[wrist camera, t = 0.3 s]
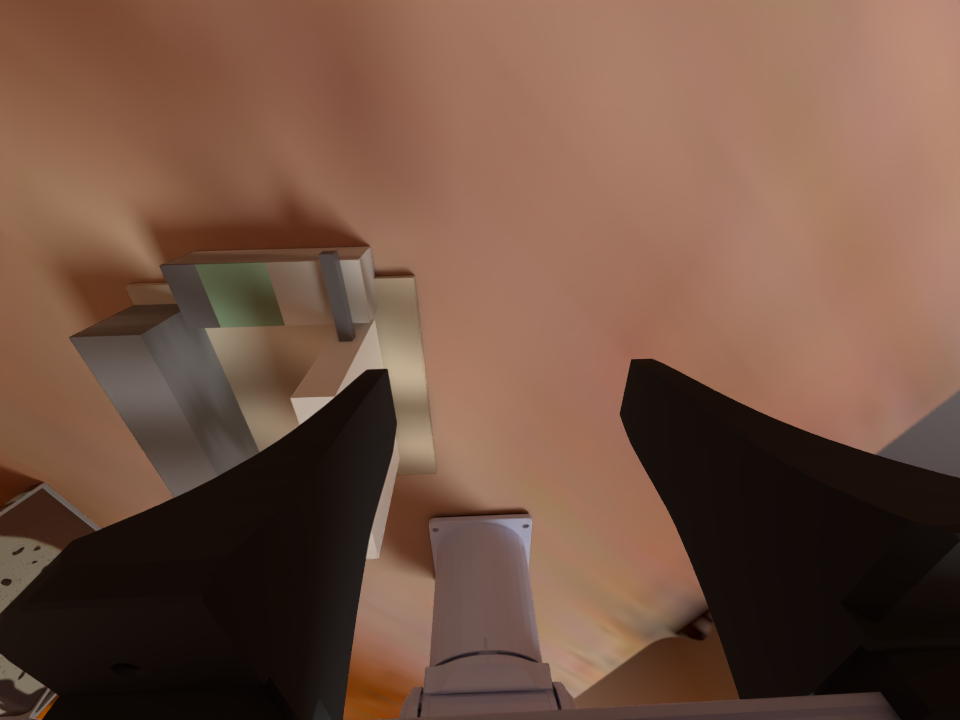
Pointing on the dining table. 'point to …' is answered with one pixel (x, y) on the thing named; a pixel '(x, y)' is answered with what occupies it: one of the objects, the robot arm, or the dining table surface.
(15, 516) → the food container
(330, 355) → the pad
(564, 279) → the dining table surface
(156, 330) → the frame
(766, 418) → the robot arm
